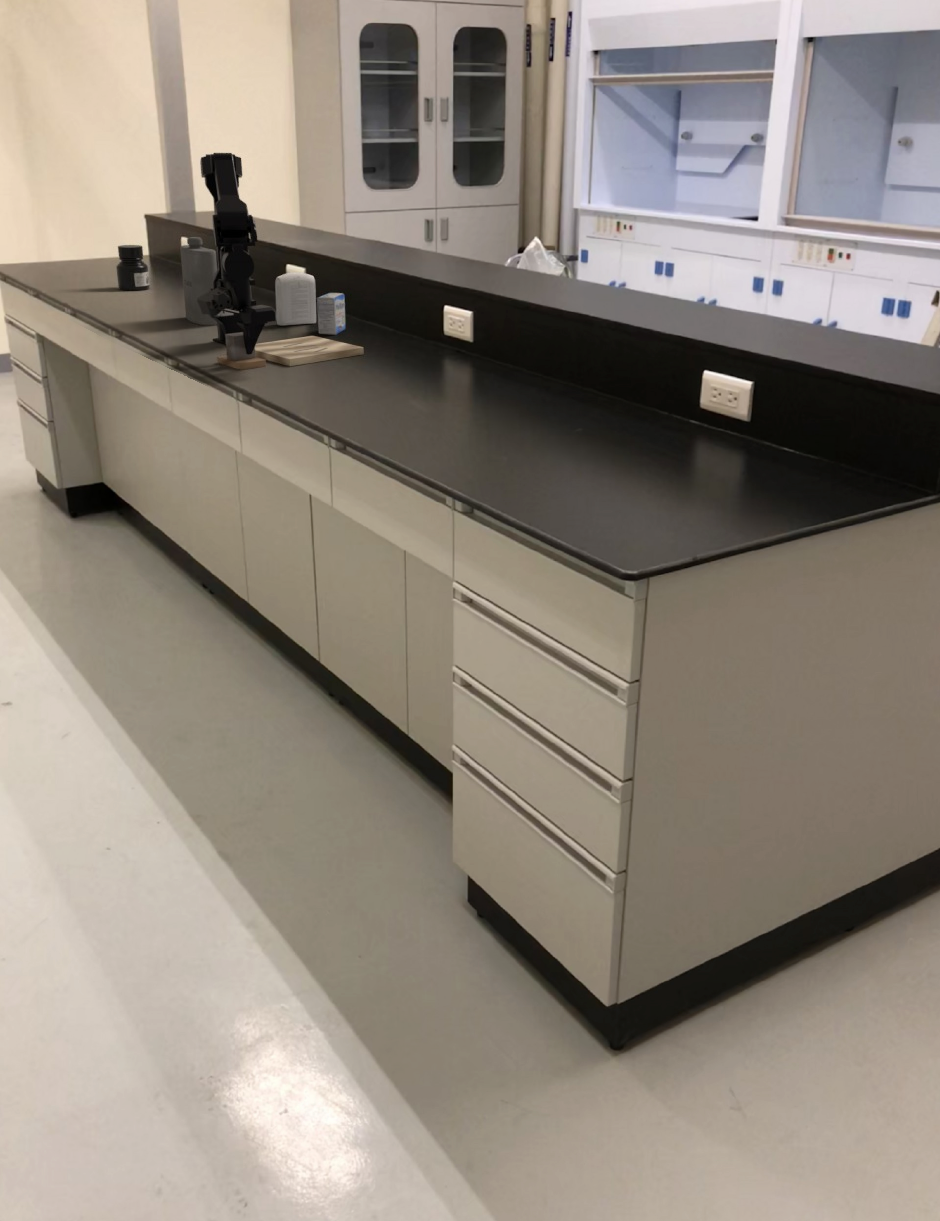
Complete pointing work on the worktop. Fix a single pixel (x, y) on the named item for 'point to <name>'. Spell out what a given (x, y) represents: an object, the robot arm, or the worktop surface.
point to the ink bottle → (132, 268)
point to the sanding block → (239, 354)
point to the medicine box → (331, 313)
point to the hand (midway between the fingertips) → (240, 352)
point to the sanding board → (305, 350)
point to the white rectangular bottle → (295, 299)
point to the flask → (197, 278)
